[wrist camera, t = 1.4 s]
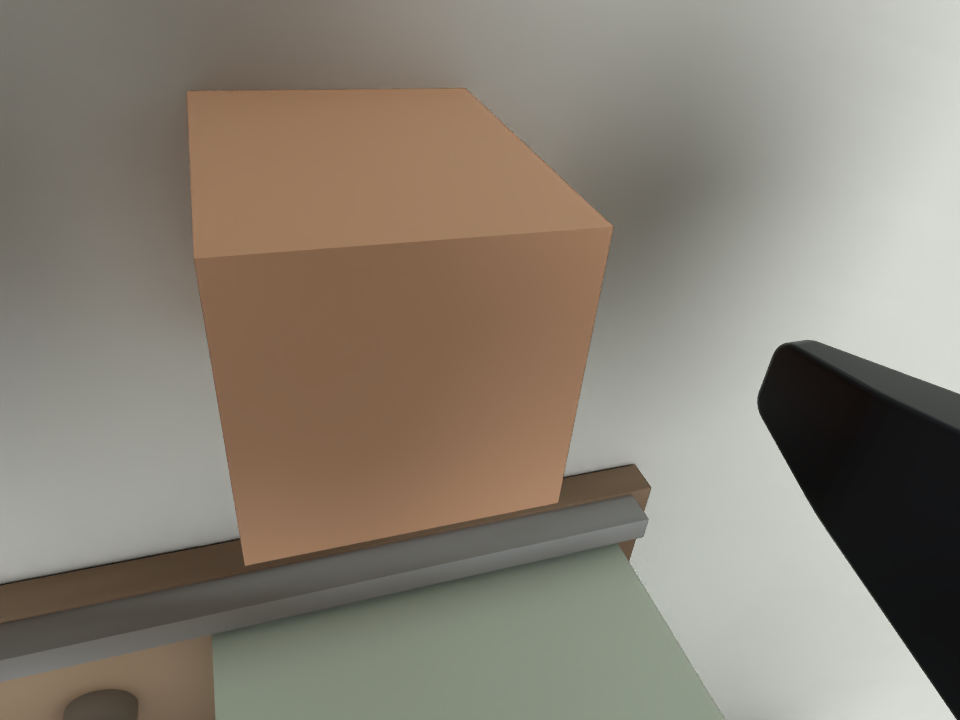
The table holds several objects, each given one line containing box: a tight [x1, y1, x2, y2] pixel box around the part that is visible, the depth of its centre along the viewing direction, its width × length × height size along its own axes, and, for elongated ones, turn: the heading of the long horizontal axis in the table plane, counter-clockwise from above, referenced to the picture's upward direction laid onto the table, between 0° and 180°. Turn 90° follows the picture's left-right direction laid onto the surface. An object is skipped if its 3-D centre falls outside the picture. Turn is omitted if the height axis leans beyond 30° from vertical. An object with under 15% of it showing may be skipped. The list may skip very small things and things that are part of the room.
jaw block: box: [187, 88, 614, 566], centre depth 10 cm, size 4×4×5 cm
